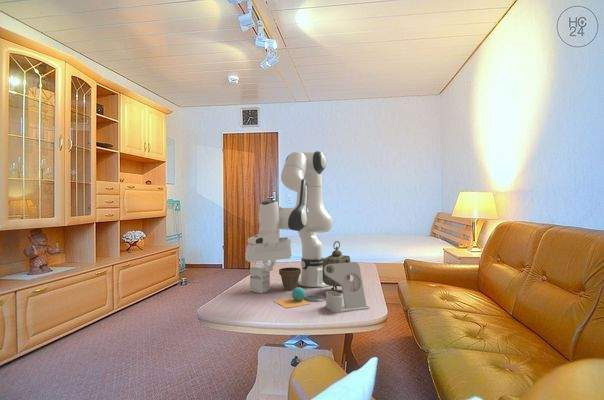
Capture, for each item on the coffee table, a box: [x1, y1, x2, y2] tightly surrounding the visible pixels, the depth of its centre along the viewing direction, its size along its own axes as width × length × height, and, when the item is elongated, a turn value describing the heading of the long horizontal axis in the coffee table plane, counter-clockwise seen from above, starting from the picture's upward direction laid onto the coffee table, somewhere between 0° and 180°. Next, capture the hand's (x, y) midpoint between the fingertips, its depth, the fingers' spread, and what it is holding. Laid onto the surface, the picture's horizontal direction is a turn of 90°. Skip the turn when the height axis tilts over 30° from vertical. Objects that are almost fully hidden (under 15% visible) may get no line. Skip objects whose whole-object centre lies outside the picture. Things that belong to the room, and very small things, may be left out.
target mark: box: [273, 297, 311, 309], centre depth 146 cm, size 12×12×1 cm
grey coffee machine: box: [324, 261, 371, 314], centre depth 139 cm, size 17×10×18 cm, turn 109°
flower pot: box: [278, 266, 302, 291], centre depth 171 cm, size 12×11×10 cm
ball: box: [291, 286, 306, 301], centre depth 149 cm, size 6×6×6 cm
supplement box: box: [249, 264, 271, 294], centre depth 167 cm, size 7×7×13 cm
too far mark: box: [303, 294, 326, 303], centre depth 152 cm, size 10×10×1 cm
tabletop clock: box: [322, 240, 351, 293], centre depth 165 cm, size 14×9×25 cm, turn 148°
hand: (269, 270), depth 141 cm, fingers closed
